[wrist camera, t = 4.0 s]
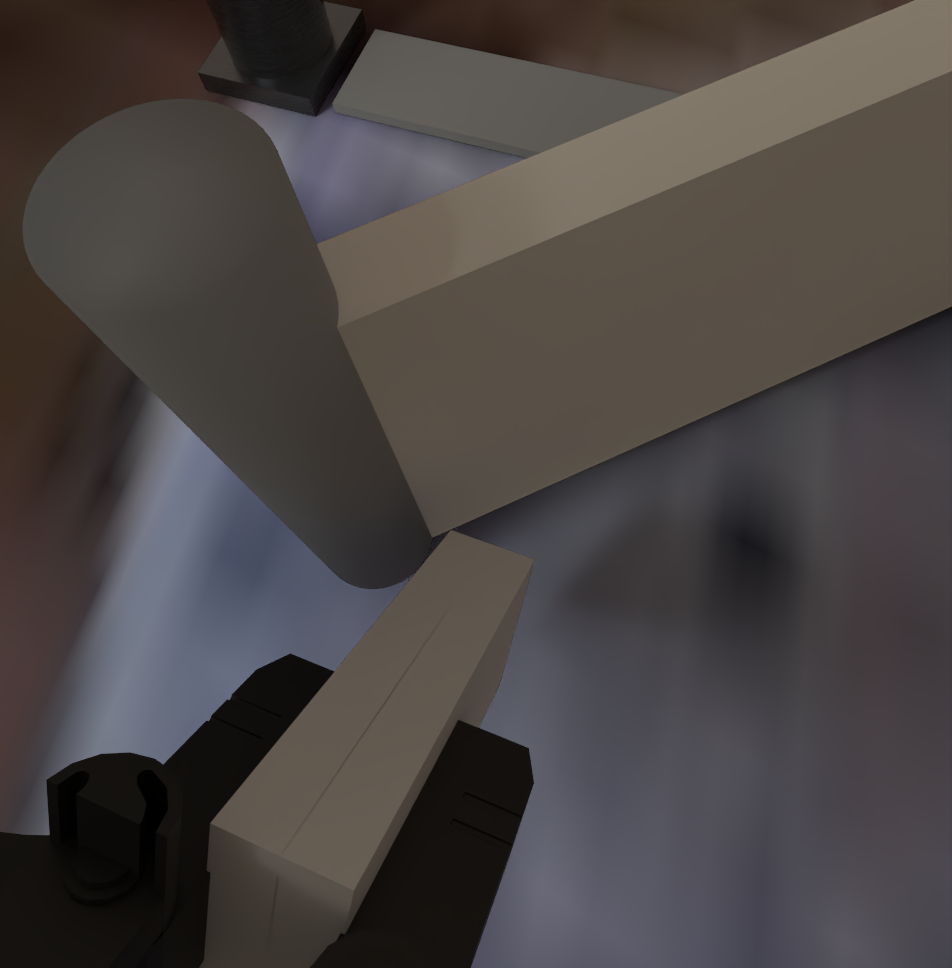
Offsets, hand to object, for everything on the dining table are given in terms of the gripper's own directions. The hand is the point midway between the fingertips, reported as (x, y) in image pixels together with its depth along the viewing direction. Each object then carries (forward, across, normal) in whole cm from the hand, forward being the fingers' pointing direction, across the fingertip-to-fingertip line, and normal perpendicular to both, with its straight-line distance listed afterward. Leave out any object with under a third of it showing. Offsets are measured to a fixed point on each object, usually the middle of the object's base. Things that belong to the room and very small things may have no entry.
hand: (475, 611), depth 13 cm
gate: (+6, +2, +3) cm, 7 cm away
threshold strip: (+12, -1, +8) cm, 14 cm away
